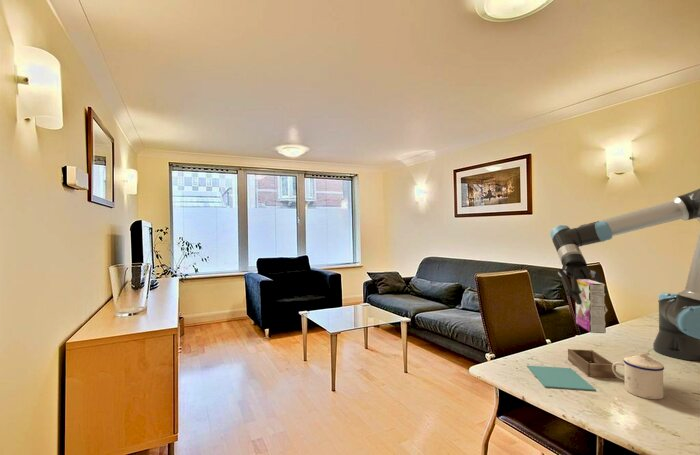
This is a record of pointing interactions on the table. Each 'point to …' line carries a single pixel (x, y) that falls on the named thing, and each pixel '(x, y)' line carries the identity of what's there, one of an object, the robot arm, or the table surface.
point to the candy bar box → (592, 306)
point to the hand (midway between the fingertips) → (595, 312)
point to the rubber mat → (560, 378)
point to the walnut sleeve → (596, 368)
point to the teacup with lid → (642, 376)
